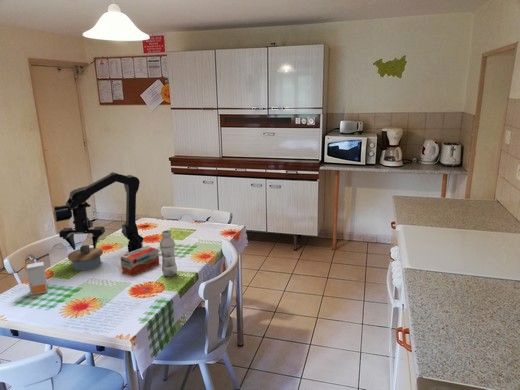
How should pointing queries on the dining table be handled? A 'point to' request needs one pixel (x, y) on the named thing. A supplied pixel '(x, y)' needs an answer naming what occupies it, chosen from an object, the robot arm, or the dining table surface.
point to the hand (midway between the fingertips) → (84, 249)
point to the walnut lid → (85, 254)
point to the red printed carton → (139, 260)
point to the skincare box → (37, 278)
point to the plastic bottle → (168, 254)
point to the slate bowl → (86, 264)
